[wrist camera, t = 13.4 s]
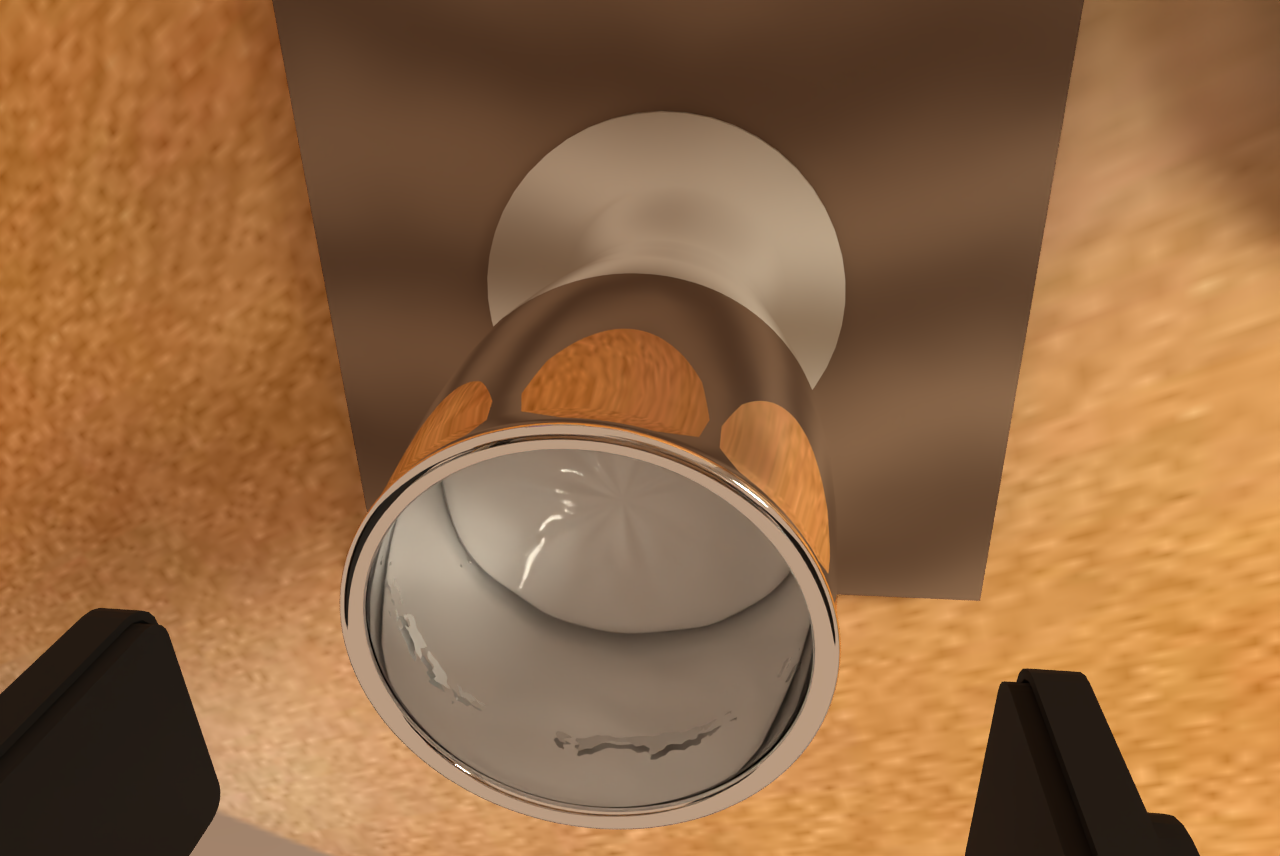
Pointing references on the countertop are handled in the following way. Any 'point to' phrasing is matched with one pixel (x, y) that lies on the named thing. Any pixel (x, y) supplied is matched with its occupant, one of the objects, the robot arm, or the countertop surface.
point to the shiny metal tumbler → (612, 537)
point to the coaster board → (721, 164)
